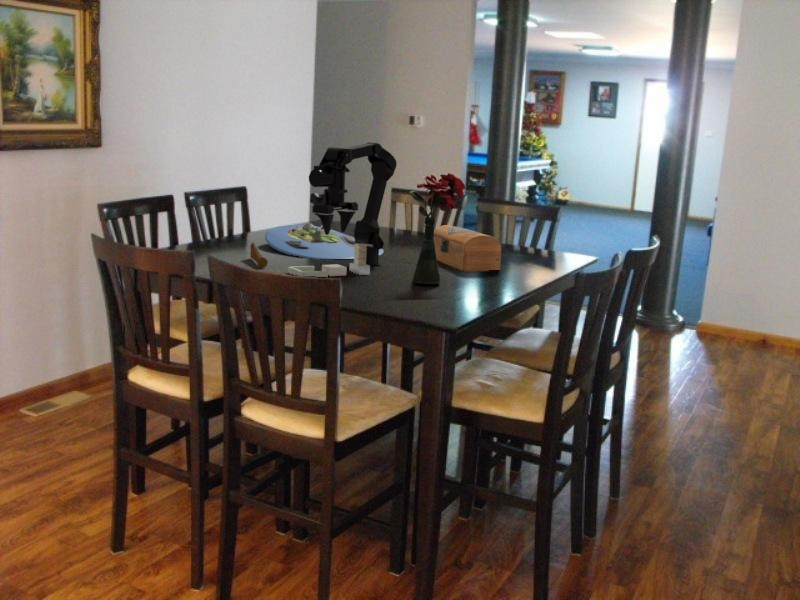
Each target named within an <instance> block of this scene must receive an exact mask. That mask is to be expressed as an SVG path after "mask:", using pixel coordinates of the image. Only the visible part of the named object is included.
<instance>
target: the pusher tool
mask: <svg viewBox="0 0 800 600" xmlns="http://www.w3.org/2000/svg"><path fill="white" fill-rule="evenodd" d="M366 254H367V244H364V243H355V249H354V259H353V262H349V269H348V270H349V271H348V272H350V271H351V272H350V273H352V272H353V274H355V273H356V274H355V275H357V274H358V275H357V276H370V275H371V272H370V271H371V266H369V265H366Z"/></svg>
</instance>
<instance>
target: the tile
mask: <svg viewBox="0 0 800 600" xmlns="http://www.w3.org/2000/svg"><path fill="white" fill-rule="evenodd" d="M321 271H328V275H329V277H337V276H338V277H339V276H347V272H348V271H347V266H344V265H341V264H339V263H338V264H337V263H335V264H322V265H321Z"/></svg>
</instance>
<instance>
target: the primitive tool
mask: <svg viewBox="0 0 800 600" xmlns="http://www.w3.org/2000/svg"><path fill="white" fill-rule="evenodd" d="M250 258H251V259H253V260H254V262H256V264H257V266H258V267H259V268H262V269H265V268H266V267H267V266H268V263H269V262H268V259H267V258H266V257H263V255H262V254H261V253H260V252H259V249H258V248H257V246H256V244H255V243H254V242H251V243H250Z"/></svg>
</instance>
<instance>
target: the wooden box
mask: <svg viewBox="0 0 800 600" xmlns="http://www.w3.org/2000/svg"><path fill="white" fill-rule="evenodd" d="M434 244H435V251H436V259H437V262H440V263H442V264H444V265H448V266H450V267H451V268H455V269H456V270H459V271H462V272H490V271H489V270H501V265H502V264H501V263H502V244H501V242H500V241H499V240H498V238H496V237H493V236H491V235H488V234H484V233H481V232H479V231H475V230H471V229H468V228H463V227H460V226H454V225H449V224H444V225H440V226H437V228H434Z"/></svg>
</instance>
